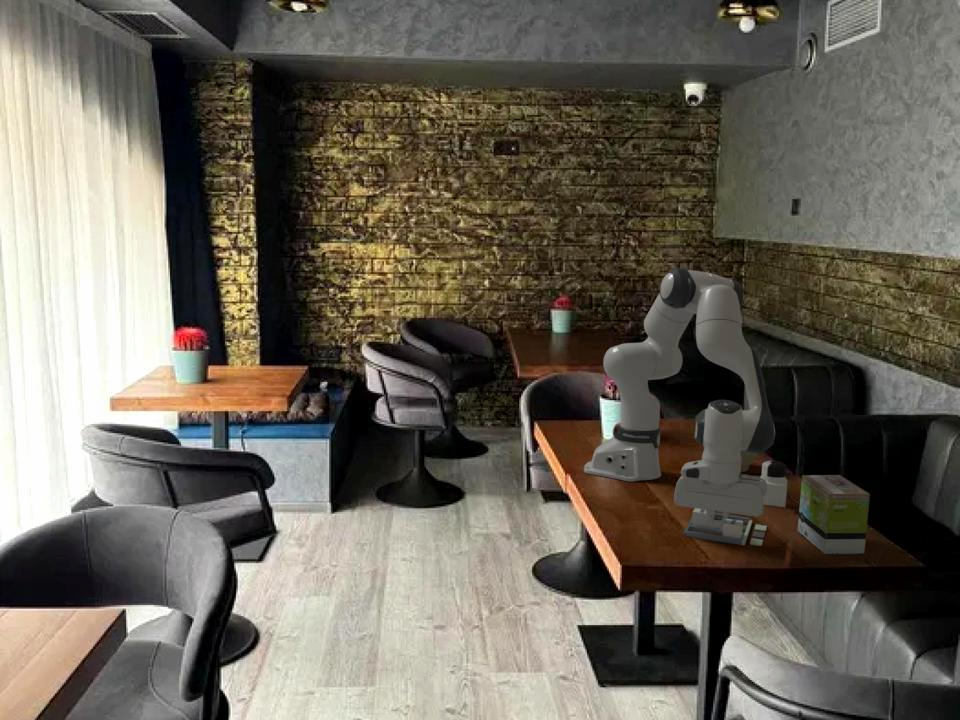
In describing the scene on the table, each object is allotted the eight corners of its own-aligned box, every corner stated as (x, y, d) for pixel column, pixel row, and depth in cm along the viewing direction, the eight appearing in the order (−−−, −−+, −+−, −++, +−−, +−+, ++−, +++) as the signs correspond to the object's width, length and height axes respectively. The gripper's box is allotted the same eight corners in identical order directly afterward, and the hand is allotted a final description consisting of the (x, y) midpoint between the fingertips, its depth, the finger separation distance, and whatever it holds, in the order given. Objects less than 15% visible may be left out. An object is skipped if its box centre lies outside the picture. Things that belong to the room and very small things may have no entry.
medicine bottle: (785, 504, 246) (789, 460, 244) (784, 512, 239) (788, 467, 237) (757, 500, 248) (761, 457, 246) (756, 508, 241) (759, 464, 239)
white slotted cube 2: (691, 527, 221) (692, 511, 220) (694, 522, 224) (695, 506, 224) (708, 530, 219) (709, 513, 218) (711, 525, 223) (712, 508, 222)
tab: (722, 540, 213) (723, 522, 212) (724, 534, 216) (725, 517, 216) (739, 542, 211) (741, 525, 211) (741, 537, 215) (743, 520, 214)
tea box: (795, 532, 224) (800, 473, 222) (835, 532, 225) (840, 473, 222) (823, 554, 209) (829, 492, 207) (865, 554, 210) (872, 492, 208)
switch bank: (662, 538, 216) (663, 528, 216) (676, 516, 233) (676, 507, 232) (764, 554, 208) (765, 544, 208) (770, 530, 225) (771, 520, 224)
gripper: (768, 473, 212) (763, 531, 214) (679, 462, 219) (675, 518, 221) (766, 480, 206) (761, 539, 208) (674, 468, 213) (670, 526, 215)
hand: (716, 528), depth 215 cm, fingers closed
